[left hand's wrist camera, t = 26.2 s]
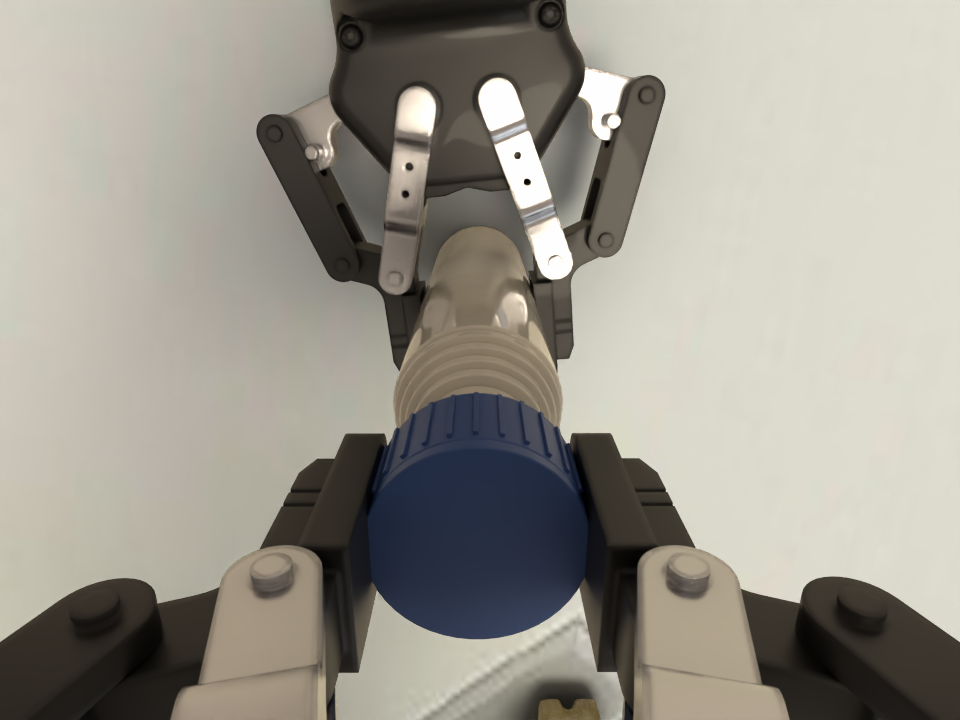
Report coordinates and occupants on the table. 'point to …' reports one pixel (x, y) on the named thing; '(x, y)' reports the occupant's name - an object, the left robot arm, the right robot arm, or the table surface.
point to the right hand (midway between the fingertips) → (486, 371)
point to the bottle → (478, 331)
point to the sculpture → (555, 716)
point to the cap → (477, 518)
